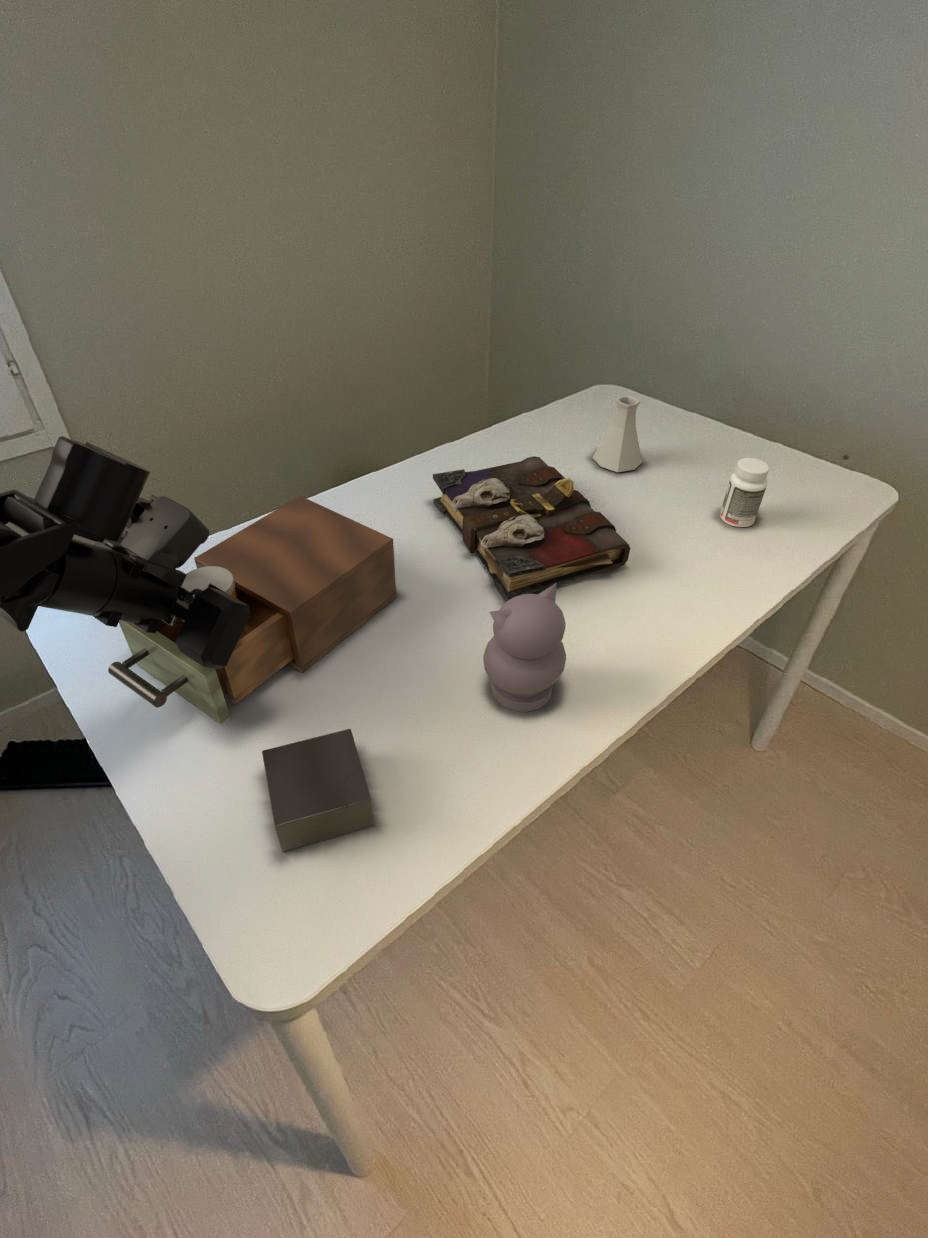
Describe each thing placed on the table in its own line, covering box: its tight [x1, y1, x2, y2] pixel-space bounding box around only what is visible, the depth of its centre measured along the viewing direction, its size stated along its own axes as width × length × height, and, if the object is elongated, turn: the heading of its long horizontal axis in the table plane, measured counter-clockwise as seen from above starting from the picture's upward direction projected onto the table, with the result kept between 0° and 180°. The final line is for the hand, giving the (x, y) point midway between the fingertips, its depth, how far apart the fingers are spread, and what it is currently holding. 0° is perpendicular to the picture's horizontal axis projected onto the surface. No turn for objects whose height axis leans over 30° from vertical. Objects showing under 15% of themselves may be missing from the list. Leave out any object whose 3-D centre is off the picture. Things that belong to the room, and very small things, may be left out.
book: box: [432, 455, 631, 603], centre depth 92 cm, size 26×18×7 cm
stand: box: [261, 728, 375, 853], centre depth 62 cm, size 8×8×4 cm
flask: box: [592, 395, 643, 473], centre depth 106 cm, size 7×7×10 cm
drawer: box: [107, 587, 295, 725], centre depth 72 cm, size 18×13×7 cm
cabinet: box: [193, 495, 397, 674], centre depth 80 cm, size 16×15×9 cm
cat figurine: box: [482, 583, 567, 713], centre depth 70 cm, size 9×8×12 cm
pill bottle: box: [719, 457, 770, 528], centre depth 95 cm, size 5×5×8 cm
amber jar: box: [182, 566, 247, 641], centre depth 71 cm, size 5×5×8 cm
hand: (226, 611), depth 72 cm, fingers closed on amber jar, 5 cm apart
